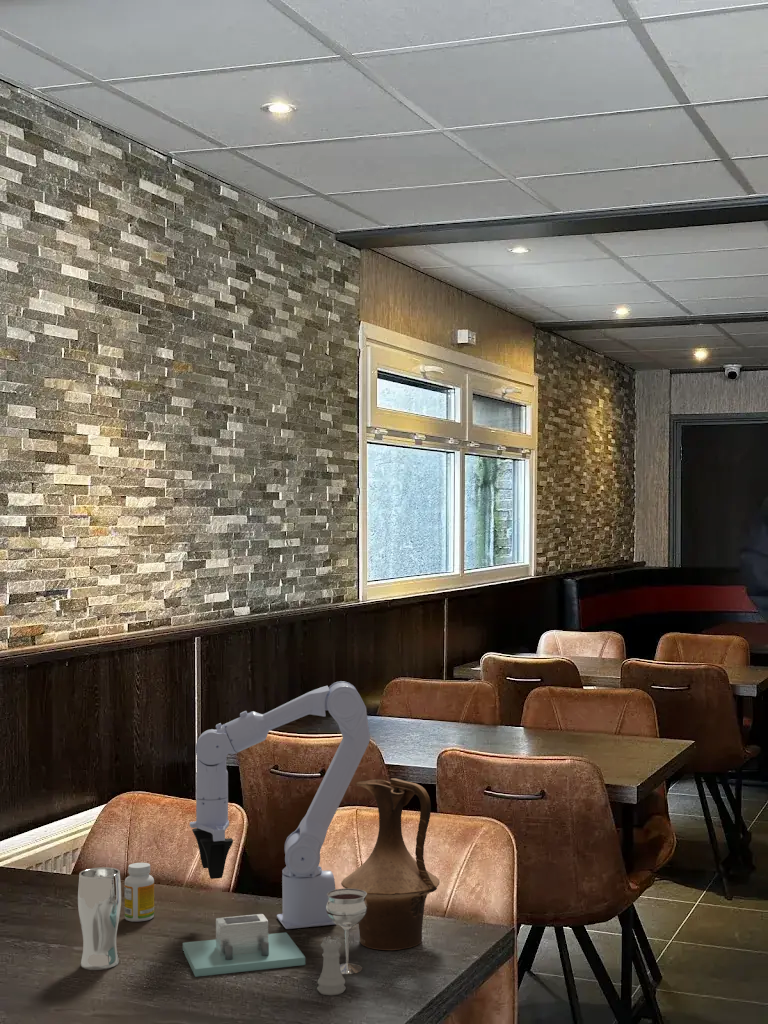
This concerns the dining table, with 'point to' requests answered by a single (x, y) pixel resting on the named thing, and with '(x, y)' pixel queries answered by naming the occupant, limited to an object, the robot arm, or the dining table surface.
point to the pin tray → (242, 956)
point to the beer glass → (99, 916)
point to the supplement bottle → (139, 893)
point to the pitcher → (394, 871)
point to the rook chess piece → (331, 968)
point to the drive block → (241, 933)
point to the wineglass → (347, 916)
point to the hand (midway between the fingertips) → (212, 872)
